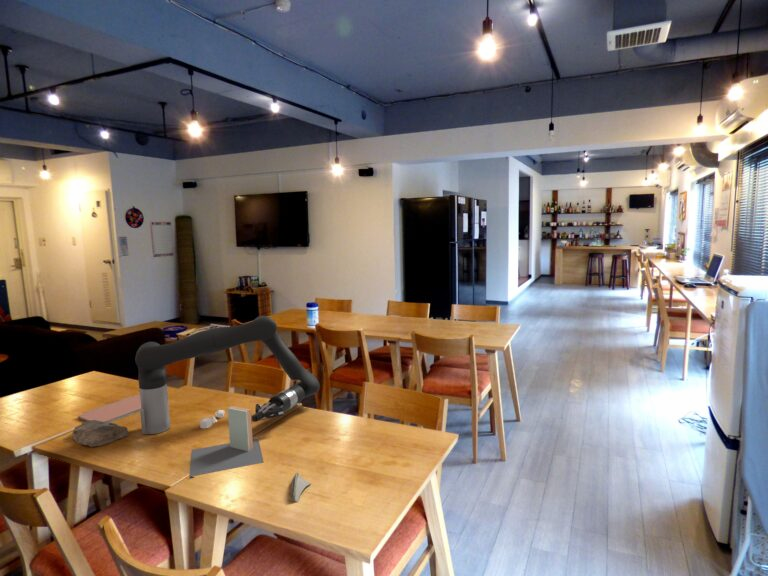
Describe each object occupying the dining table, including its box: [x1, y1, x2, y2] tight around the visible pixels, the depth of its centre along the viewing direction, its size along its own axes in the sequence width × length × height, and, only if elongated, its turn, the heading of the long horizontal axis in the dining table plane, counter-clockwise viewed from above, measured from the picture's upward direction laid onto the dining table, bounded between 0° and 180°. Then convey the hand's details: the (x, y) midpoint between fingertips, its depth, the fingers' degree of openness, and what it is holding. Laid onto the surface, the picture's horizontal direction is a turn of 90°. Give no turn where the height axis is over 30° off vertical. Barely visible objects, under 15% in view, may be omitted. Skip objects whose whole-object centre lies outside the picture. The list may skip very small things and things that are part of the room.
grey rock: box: [72, 420, 129, 448], centre depth 168 cm, size 14×5×20 cm
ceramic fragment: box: [290, 471, 311, 503], centre depth 132 cm, size 14×5×4 cm, turn 6°
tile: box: [227, 405, 253, 451], centre depth 155 cm, size 2×8×14 cm, turn 66°
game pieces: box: [199, 409, 226, 429], centre depth 178 cm, size 12×3×3 cm, turn 164°
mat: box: [188, 437, 264, 479], centre depth 151 cm, size 22×18×1 cm
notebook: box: [77, 394, 141, 423], centre depth 191 cm, size 27×17×2 cm, turn 149°
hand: (253, 419), depth 161 cm, fingers closed
